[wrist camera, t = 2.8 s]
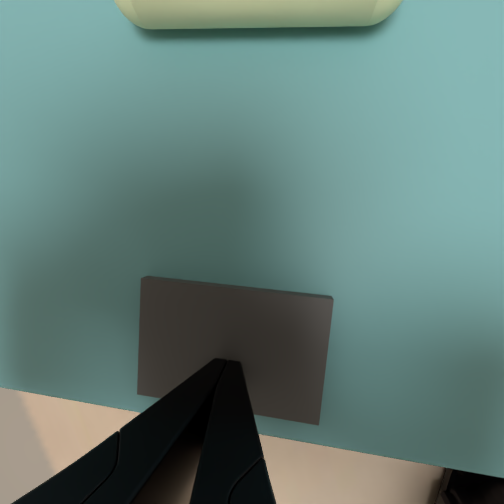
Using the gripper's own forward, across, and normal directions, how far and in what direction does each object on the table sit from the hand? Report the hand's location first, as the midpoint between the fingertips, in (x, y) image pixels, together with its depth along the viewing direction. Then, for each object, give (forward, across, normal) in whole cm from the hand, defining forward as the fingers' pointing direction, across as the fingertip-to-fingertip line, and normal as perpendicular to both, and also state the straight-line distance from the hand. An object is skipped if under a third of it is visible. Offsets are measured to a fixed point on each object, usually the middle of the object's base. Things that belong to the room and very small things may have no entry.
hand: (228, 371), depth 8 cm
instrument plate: (+3, 0, -6) cm, 7 cm away
